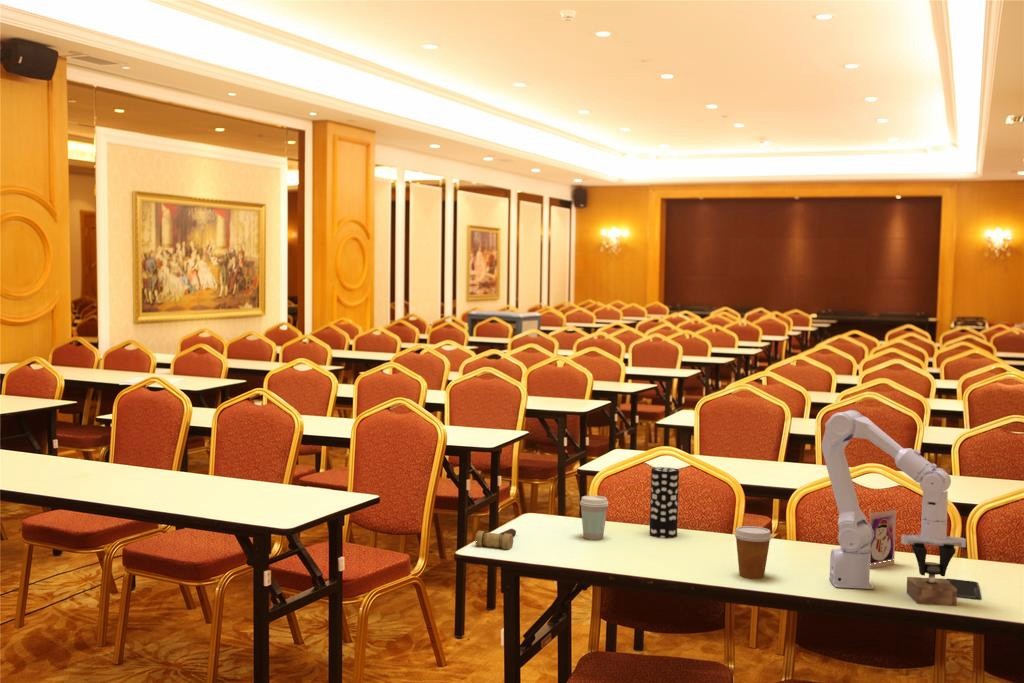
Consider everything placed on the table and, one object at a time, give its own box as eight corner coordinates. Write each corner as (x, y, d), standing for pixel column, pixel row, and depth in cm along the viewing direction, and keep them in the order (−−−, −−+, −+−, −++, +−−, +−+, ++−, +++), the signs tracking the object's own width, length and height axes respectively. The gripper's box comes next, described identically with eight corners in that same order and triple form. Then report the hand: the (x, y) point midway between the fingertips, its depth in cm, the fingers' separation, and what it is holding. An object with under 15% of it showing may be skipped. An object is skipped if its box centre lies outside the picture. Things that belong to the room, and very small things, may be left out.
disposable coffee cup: (744, 581, 257) (746, 534, 257) (726, 571, 266) (727, 526, 266) (777, 579, 260) (779, 533, 259) (758, 569, 269) (760, 525, 269)
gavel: (499, 522, 306) (531, 525, 303) (499, 537, 306) (530, 540, 303) (475, 531, 286) (508, 535, 283) (474, 548, 286) (507, 551, 283)
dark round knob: (925, 595, 244) (926, 565, 243) (920, 590, 248) (921, 561, 247) (942, 596, 243) (943, 566, 243) (937, 591, 247) (938, 562, 247)
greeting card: (870, 569, 272) (872, 514, 272) (847, 563, 278) (849, 509, 278) (896, 564, 278) (898, 510, 278) (873, 558, 285) (875, 505, 284)
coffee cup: (608, 541, 297) (609, 501, 296) (579, 540, 297) (580, 500, 297) (606, 534, 305) (607, 495, 305) (578, 534, 306) (579, 494, 305)
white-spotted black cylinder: (676, 539, 302) (678, 472, 301) (648, 537, 304) (650, 471, 303) (677, 532, 310) (679, 468, 310) (650, 531, 312) (652, 466, 311)
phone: (946, 593, 248) (945, 578, 262) (945, 597, 249) (945, 582, 262) (981, 597, 246) (978, 581, 259) (981, 601, 246) (978, 586, 259)
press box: (917, 603, 241) (917, 586, 241) (906, 592, 250) (907, 576, 250) (956, 605, 240) (957, 588, 240) (944, 594, 249) (944, 578, 249)
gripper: (907, 521, 241) (905, 577, 242) (971, 524, 240) (968, 580, 240) (899, 515, 248) (897, 570, 249) (961, 517, 247) (958, 573, 247)
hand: (932, 574), depth 245 cm, fingers closed on dark round knob, 4 cm apart
